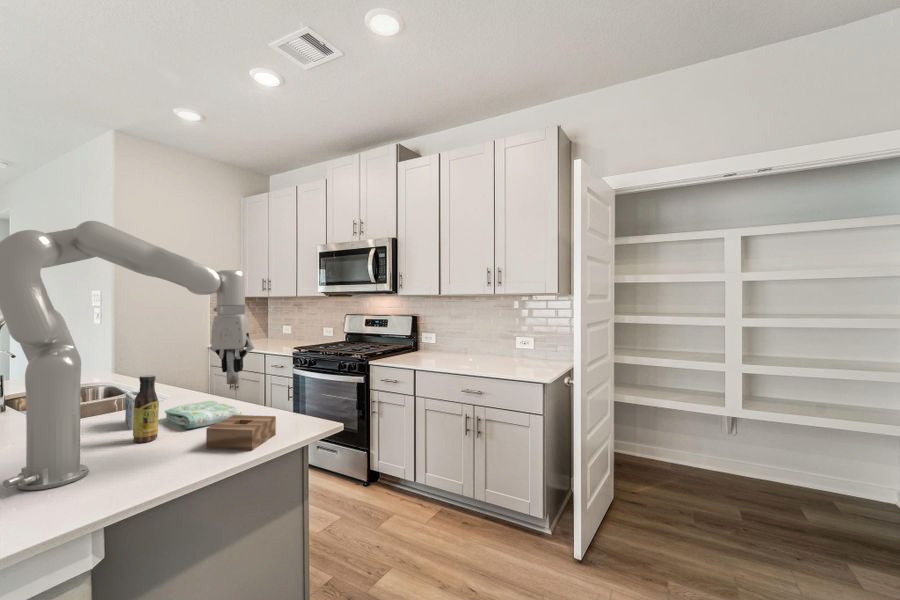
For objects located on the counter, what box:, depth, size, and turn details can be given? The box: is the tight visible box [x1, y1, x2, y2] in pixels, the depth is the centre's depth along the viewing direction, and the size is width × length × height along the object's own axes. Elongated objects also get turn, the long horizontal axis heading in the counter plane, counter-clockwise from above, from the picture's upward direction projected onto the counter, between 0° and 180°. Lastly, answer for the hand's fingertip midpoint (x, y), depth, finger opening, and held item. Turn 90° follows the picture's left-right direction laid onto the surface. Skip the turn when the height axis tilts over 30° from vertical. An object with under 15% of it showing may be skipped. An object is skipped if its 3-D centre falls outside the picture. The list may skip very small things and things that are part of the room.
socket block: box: [205, 414, 277, 452], centre depth 129 cm, size 14×14×6 cm
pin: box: [225, 349, 239, 385], centre depth 127 cm, size 3×3×12 cm
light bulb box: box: [124, 390, 140, 431], centre depth 145 cm, size 11×7×11 cm, turn 47°
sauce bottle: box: [132, 374, 160, 444], centre depth 129 cm, size 6×6×20 cm
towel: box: [164, 400, 243, 430], centre depth 151 cm, size 18×21×5 cm
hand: (232, 370), depth 127 cm, fingers closed on pin, 3 cm apart
